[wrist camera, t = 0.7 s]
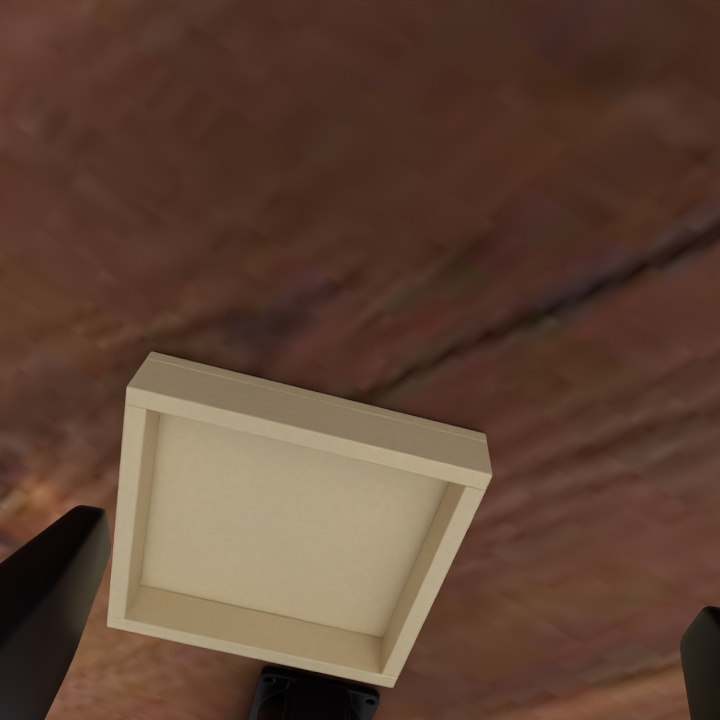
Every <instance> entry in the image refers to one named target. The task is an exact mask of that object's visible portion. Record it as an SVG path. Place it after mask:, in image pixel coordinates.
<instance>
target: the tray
mask: <svg viewBox="0 0 720 720" xmlns="http://www.w3.org/2000/svg"><path fill="white" fill-rule="evenodd" d="M125 403H126V404H125V412H124V424H123V436H122V448H121V460H120V472H119V484H118V496H117V508H116V521H115V533H114V545H113V557H112V569H111V581H110V593H109V605H108V616H107V627H111V628H116V629H120V630H125V631H130V632H134V633H139V634H144V635H148V636H153V637H158V638H162V639H167V640H171V641H176V642H181V643H185V644H190V645H195V646H199V647H204V648H209V649H213V650H218V651H223V652H227V653H232V654H237V655H241V656H246V657H250V658H255V659H260V660H264V661H269V662H274V663H278V664H283V665H288V666H292V667H297V668H302V669H306V670H311V671H316V672H320V673H325V674H329V675H334V676H339V677H343V678H348V679H353V680H357V681H362V682H367V683H371V684H376V685H381V686H385V687H390V688H393V686H394V684H395V682H396V680H397V678H398V676H399V674H400V672H401V670H402V668H403V665H404V663H405V661H406V659H407V657H408V655H409V653H410V651H411V648H412V646H413V644H414V642H415V640H416V638H417V636H418V633H419V631H420V629H421V627H422V625H423V623H424V621H425V619H426V616H427V614H428V612H429V610H430V608H431V606H432V604H433V602H434V599H435V597H436V595H437V593H438V591H439V589H440V587H441V585H442V582H443V580H444V578H445V576H446V574H447V572H448V570H449V568H450V565H451V563H452V561H453V559H454V557H455V555H456V553H457V551H458V548H459V546H460V544H461V542H462V540H463V538H464V536H465V534H466V531H467V529H468V527H469V525H470V523H471V521H472V519H473V517H474V514H475V512H476V510H477V508H478V506H479V504H480V502H481V500H482V497H483V495H484V493H485V490H486V488H487V486H488V484H489V482H490V480H491V478H492V470H491V464H490V458H489V452H488V446H487V440H486V434H484V433H481V432H477V431H472V430H468V429H464V428H460V427H456V426H452V425H448V424H444V423H440V422H436V421H432V420H428V419H424V418H420V417H416V416H412V415H408V414H404V413H400V412H396V411H391V410H387V409H383V408H379V407H375V406H371V405H367V404H363V403H359V402H355V401H351V400H347V399H343V398H339V397H335V396H331V395H327V394H323V393H319V392H315V391H310V390H306V389H302V388H298V387H294V386H290V385H286V384H282V383H278V382H274V381H270V380H266V379H262V378H258V377H254V376H250V375H246V374H242V373H238V372H233V371H229V370H225V369H221V368H217V367H213V366H209V365H205V364H201V363H197V362H193V361H189V360H185V359H181V358H177V357H173V356H169V355H165V354H161V353H157V352H150V353H149V355H148V356H147V358H146V360H145V361H144V362H143V364H142V365H141V367H140V368H139V370H138V371H137V373H136V374H135V376H134V377H133V378H132V380H131V381H130V383H129V384H128V386H127V388H126V400H125Z"/></svg>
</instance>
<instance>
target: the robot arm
mask: <svg viewBox="0 0 720 720" xmlns="http://www.w3.org/2000/svg"><path fill="white" fill-rule="evenodd" d="M110 549H111V542H110V532H109V521H108V514H107V512H106V510H105V509H102V508H97V507H91V506H85V505H79V506H76V507H74V508H73V509H71V510H70V511H69V512H67V513H66V514H65V515H63V516H62V517H61V518H59V519H58V520H57V521H56V522H54V523H53V524H52V525H50V526H49V527H48V528H46V529H45V530H44V531H42V532H41V533H40V534H38V535H37V536H36V537H34V538H33V539H32V540H30V541H29V542H28V543H27V544H25V545H24V546H23V547H21V548H20V549H19V550H17V551H16V552H15V553H13V554H12V555H11V556H9V557H8V558H7V559H5V560H4V561H3V562H1V563H0V720H44V719H45V717H46V715H47V713H48V711H49V709H50V707H51V705H52V703H53V701H54V699H55V697H56V694H57V692H58V690H59V688H60V686H61V684H62V682H63V680H64V678H65V676H66V673H67V671H68V669H69V667H70V665H71V662H72V660H73V658H74V655H75V652H76V650H77V647H78V644H79V641H80V639H81V636H82V633H83V630H84V627H85V625H86V622H87V619H88V616H89V613H90V610H91V608H92V605H93V602H94V599H95V596H96V594H97V591H98V588H99V585H100V582H101V579H102V577H103V574H104V571H105V568H106V565H107V562H108V559H109V555H110ZM680 653H681V660H682V666H683V672H684V679H685V685H686V691H687V698H688V704H689V710H690V716H691V720H720V608H719V607H713V606H708V607H705V608H703V609H702V610H701V612H700V613H699V614H698V616H697V617H696V618H695V620H694V621H693V622H692V624H691V625H690V627H689V628H688V629H687V631H686V632H685V633H684V635H683V637H682V640H681V645H680ZM379 699H380V694H379V692H378V691H376V690H374V689H370V688H365V687H360V686H356V685H351V684H346V683H342V682H337V681H332V680H328V679H323V678H318V677H314V676H309V675H304V674H300V673H295V672H290V671H286V670H281V669H276V668H271V667H267V668H264V669H262V671H261V674H260V677H259V681H258V684H257V688H256V691H255V695H254V698H253V702H252V705H251V709H250V712H249V715H248V719H247V720H372V718H373V716H374V714H375V712H376V709H377V707H378V705H379Z"/></svg>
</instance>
